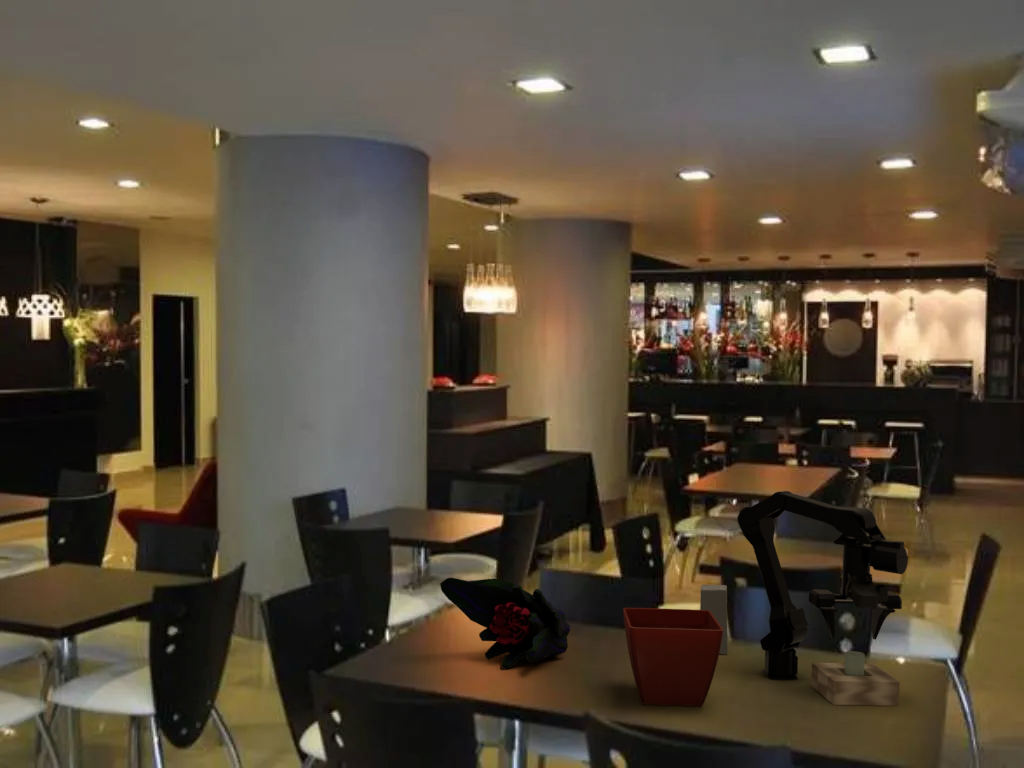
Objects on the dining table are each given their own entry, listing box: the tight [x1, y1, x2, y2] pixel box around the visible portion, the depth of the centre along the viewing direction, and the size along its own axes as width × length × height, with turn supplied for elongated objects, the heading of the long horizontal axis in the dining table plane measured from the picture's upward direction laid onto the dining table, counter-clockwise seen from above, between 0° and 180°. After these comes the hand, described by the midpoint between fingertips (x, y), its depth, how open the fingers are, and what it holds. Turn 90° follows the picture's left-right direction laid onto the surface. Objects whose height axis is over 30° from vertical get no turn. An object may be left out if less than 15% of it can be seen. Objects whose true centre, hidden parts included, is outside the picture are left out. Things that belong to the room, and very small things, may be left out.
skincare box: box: [699, 584, 729, 655], centre depth 271 cm, size 8×7×16 cm
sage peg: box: [844, 650, 866, 676], centre depth 237 cm, size 4×4×9 cm
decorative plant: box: [439, 577, 571, 670], centre depth 254 cm, size 21×26×30 cm
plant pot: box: [622, 607, 723, 707], centre depth 231 cm, size 19×19×17 cm
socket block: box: [810, 662, 901, 707], centre depth 237 cm, size 14×14×5 cm
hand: (853, 638), depth 238 cm, fingers open, 9 cm apart
